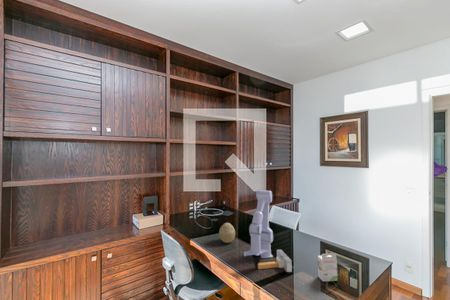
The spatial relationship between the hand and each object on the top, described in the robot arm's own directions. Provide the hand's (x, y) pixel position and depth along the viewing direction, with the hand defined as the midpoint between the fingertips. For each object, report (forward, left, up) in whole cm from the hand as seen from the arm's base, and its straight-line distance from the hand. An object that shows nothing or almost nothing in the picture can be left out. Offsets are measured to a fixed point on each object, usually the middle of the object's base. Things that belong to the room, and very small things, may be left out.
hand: (256, 266), depth 126 cm
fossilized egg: (-41, -11, -1) cm, 42 cm away
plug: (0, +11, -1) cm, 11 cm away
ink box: (+17, +35, -1) cm, 39 cm away
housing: (0, +18, -1) cm, 18 cm away
